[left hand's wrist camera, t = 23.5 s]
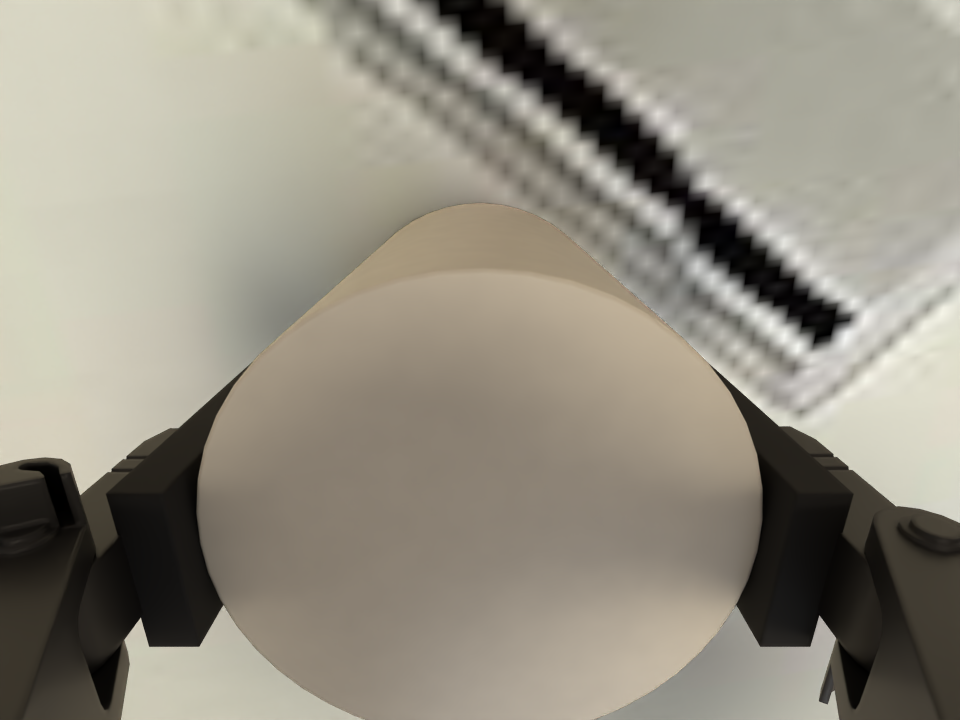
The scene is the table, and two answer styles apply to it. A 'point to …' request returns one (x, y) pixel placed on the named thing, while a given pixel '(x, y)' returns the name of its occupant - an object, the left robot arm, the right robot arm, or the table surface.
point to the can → (479, 484)
